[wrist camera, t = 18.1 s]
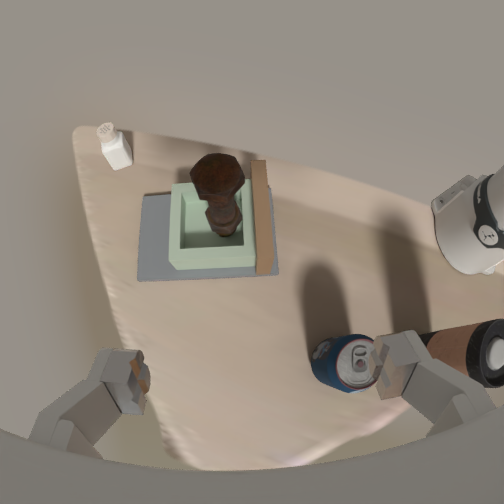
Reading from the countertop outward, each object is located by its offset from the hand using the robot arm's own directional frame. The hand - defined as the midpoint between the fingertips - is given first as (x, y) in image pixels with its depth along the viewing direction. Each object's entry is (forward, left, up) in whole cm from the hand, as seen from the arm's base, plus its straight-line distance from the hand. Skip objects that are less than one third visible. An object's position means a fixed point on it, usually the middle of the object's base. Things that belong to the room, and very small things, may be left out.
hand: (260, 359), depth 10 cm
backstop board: (-6, -18, -34) cm, 39 cm away
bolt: (-9, -16, -31) cm, 36 cm away
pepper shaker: (-4, -40, -34) cm, 52 cm away
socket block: (-8, -17, -32) cm, 37 cm away
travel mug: (-18, +19, -34) cm, 43 cm away
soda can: (-8, +9, -34) cm, 36 cm away
